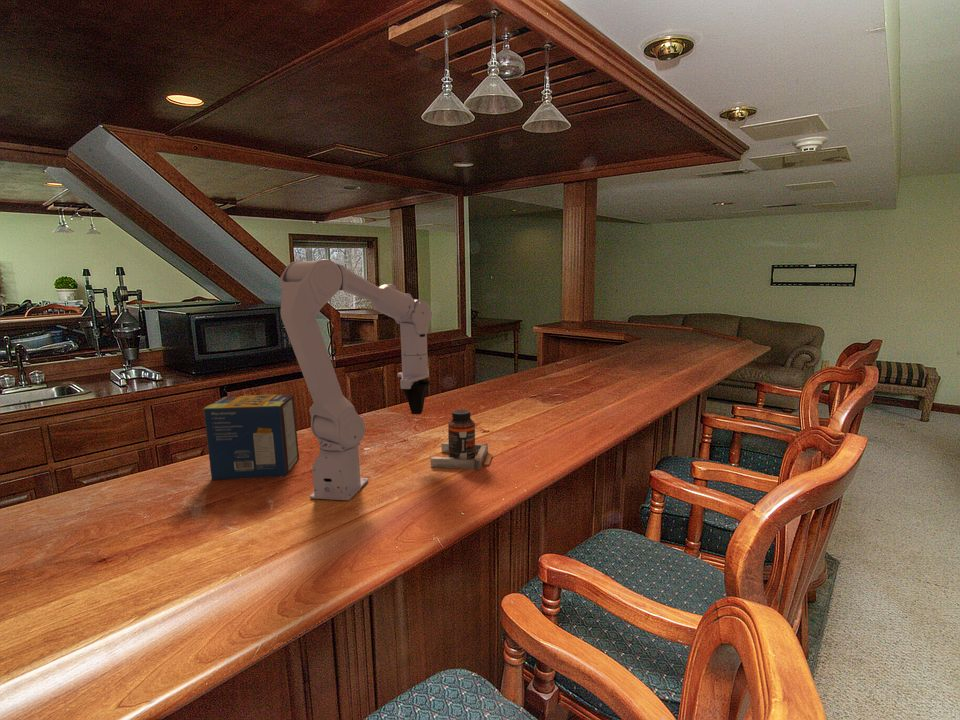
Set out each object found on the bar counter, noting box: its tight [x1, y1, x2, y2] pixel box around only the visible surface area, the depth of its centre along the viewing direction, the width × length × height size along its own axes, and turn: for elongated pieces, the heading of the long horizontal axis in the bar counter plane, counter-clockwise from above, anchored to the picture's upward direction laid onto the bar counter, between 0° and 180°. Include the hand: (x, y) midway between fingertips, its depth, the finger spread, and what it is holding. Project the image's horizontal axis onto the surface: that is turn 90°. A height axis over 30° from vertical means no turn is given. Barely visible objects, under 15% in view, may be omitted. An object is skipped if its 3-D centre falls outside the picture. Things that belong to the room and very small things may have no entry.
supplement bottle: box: [447, 409, 476, 458], centre depth 110 cm, size 6×6×11 cm
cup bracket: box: [430, 441, 494, 471], centre depth 111 cm, size 11×12×2 cm
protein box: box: [202, 393, 300, 481], centre depth 107 cm, size 10×15×16 cm
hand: (416, 413), depth 112 cm, fingers closed
